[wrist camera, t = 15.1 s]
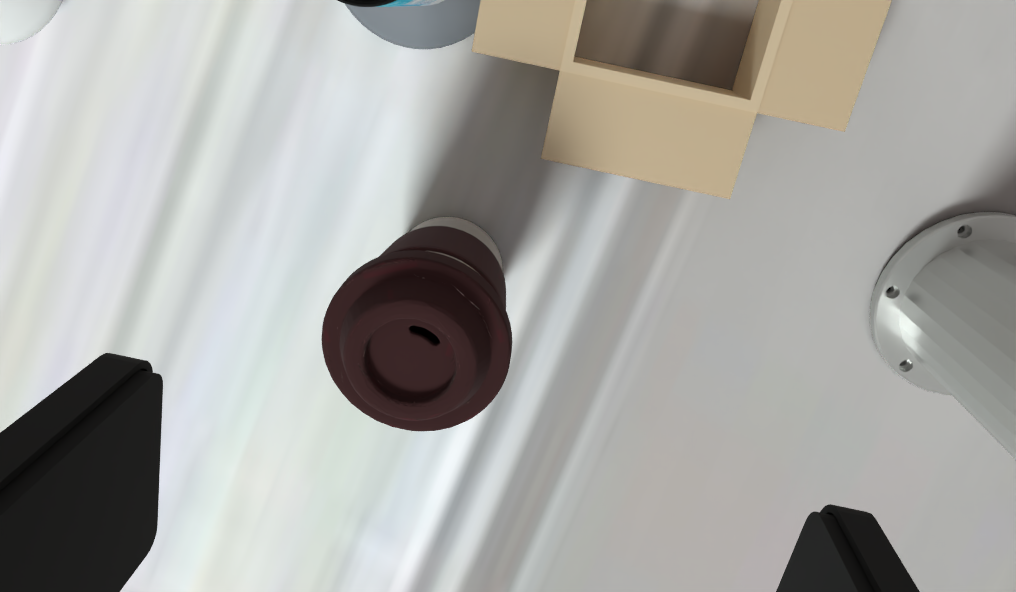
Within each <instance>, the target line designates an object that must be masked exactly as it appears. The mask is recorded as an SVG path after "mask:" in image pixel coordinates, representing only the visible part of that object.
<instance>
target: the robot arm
mask: <svg viewBox="0 0 1016 592" xmlns="http://www.w3.org/2000/svg"><path fill="white" fill-rule="evenodd" d="M961 226H962V227H961ZM960 227H961V229H960V230H959V231H958V229H959V228H960ZM889 287H891V289H890V290H888V291H887V289H888V288H889ZM869 323H870V328H871V333H872V338H873V341H874V343H875V345H876V347H877V350H878V352H879V353H880V355H881V356H882V357H883V359H884V360H885V361H886V363H887V364H888V365H889V366H890V367H891V369H892V370H893V371H894V372H895V373H896V374H897V375H898V376H900V377H901V378H903V379H904V380H906V381H907V382H909V383H910V384H912V385H914V386H916V387H918V388H921V389H923V390H926V391H928V392H933V393H937V394H942V395H952V396H953V397H954V398H955V399H956V400H957V401H958V402H959V403H960V404H961V405H962V406H963V407H964V408H965V409H966V410H967V411H968V412H969V413H970V414H971V415H972V416H973V417H974V418H975V419H976V420H977V421H978V422H979V423H980V424H981V425H982V426H983V428H984V429H985V430H986V431H987V432H988V433H989V434H990V435H991V436H992V437H993V438H994V439H995V440H996V441H997V442H998V443H999V444H1000V445H1001V446H1002V447H1003V448H1004V449H1005V450H1006V451H1007V452H1008V453H1009V454H1010V455H1011V456H1012V457H1013V458H1014V459H1015V460H1016V215H1011V214H1007V213H1002V212H977V213H970V214H964V215H959V216H956V217H953V218H950V219H947V220H944V221H941V222H939V223H937V224H935V225H933V226H931V227H929V228H927V229H925V230H923V231H922V232H921V233H919V234H918V235H917V236H915V237H914V238H912V239H911V240H910V241H908V242H907V243H906V244H905V245H904V246H903V247H902V248H901V249H900V250H899V251H898V252H897V253H896V254H895V255H894V256H893V257H892V259H891V260H890V261H889V263H888V264H887V266H886V267H885V269H884V270H883V271H882V273H881V275H880V277H879V280H878V282H877V284H876V286H875V288H874V292H873V296H872V300H871V304H870V322H869ZM902 361H903V362H902ZM901 362H902V363H901ZM162 395H163V380H162V377H161V375H160V374H157V373H153V370H152V367H151V364H150V363H149V362H148V361H145V360H140V359H135V358H131V357H126V356H121V355H116V354H111V353H105V354H103V355H101V356H100V357H98V358H97V359H96V360H94V361H93V362H92V363H91V364H89V365H88V366H87V367H85V368H84V369H83V370H81V371H80V372H79V373H78V374H76V375H75V376H74V377H72V378H71V379H70V380H68V381H67V382H66V383H64V384H63V385H62V386H61V387H59V388H58V389H57V390H55V391H54V392H53V393H51V394H50V395H49V396H48V397H46V398H45V399H44V400H42V401H41V402H40V403H38V404H37V405H36V406H35V407H33V408H32V409H31V410H29V411H28V412H27V413H25V414H24V415H23V416H22V417H20V418H19V419H18V420H16V421H15V422H14V423H12V424H11V425H10V426H9V427H7V428H6V429H5V430H3V431H2V432H1V433H0V592H120V590H121V589H122V588H123V586H124V585H125V584H126V582H127V581H128V580H129V578H130V577H131V576H132V574H133V573H134V572H135V570H136V569H137V568H138V566H139V565H140V564H141V562H142V561H143V560H144V558H145V557H146V556H147V554H148V552H149V551H150V549H151V547H152V545H153V542H154V539H155V536H156V532H157V520H158V495H159V470H160V445H161V420H162ZM776 592H919V590H918V588H917V587H916V585H915V583H914V582H913V580H912V578H911V577H910V575H909V573H908V572H907V570H906V569H905V567H904V565H903V564H902V562H901V560H900V559H899V557H898V555H897V554H896V552H895V550H894V549H893V547H892V545H891V544H890V542H889V540H888V539H887V537H886V535H885V534H884V532H883V530H882V529H881V527H880V525H879V524H878V522H877V520H876V519H875V518H874V516H873V515H872V514H870V513H868V512H864V511H859V510H854V509H850V508H845V507H840V506H835V505H831V504H830V505H827V506H825V507H824V508H823V509H822V510H821V512H820V513H819V512H812V513H811V514H810V515H809V516H808V518H807V519H806V522H805V524H804V526H803V529H802V531H801V533H800V536H799V538H798V541H797V543H796V545H795V548H794V550H793V553H792V555H791V557H790V560H789V562H788V565H787V567H786V569H785V572H784V574H783V577H782V579H781V581H780V584H779V586H778V589H777V591H776Z"/></svg>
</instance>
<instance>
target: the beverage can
mask: <svg viewBox="0 0 1016 592" xmlns="http://www.w3.org/2000/svg"><path fill="white" fill-rule="evenodd" d="M338 1H340V2H342V3H345V4H348V5H352V6H358V7H403V6H429V5H434V4H438V3H440V2H442V1H444V0H338Z"/></svg>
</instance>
